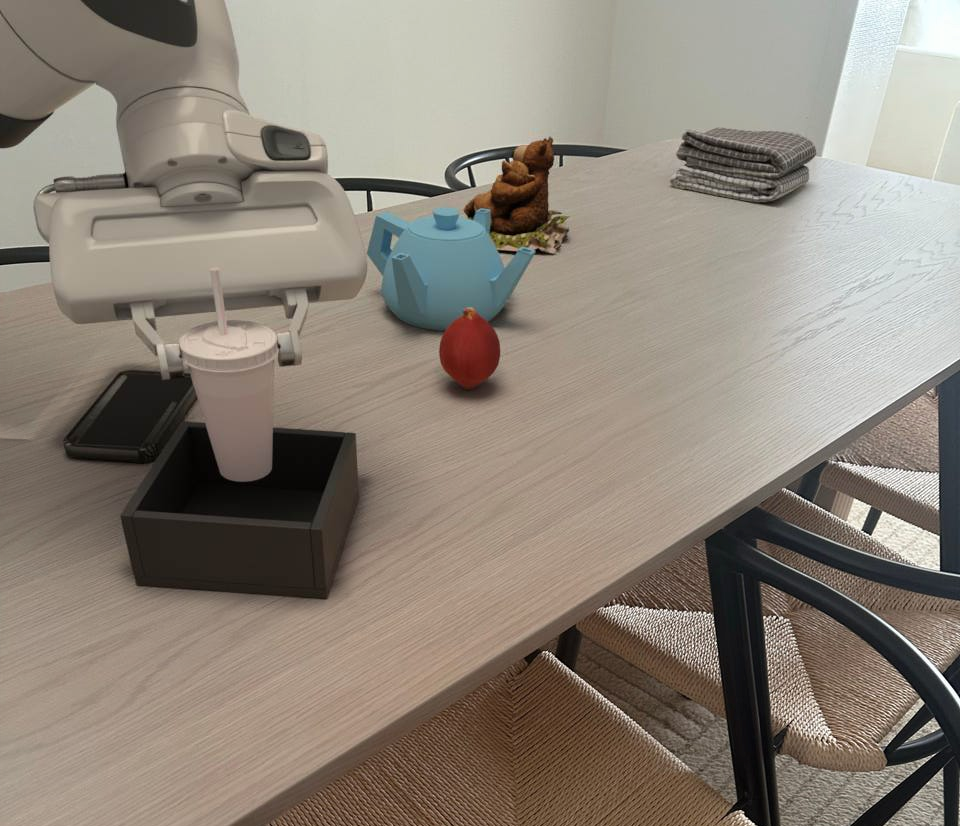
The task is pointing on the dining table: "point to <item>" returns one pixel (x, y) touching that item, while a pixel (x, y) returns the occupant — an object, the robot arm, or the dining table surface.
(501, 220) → the bear figurine
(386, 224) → the teapot
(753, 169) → the towel
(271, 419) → the smoothie
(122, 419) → the phone
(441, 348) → the onion
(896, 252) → the dining table surface
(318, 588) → the black tray
